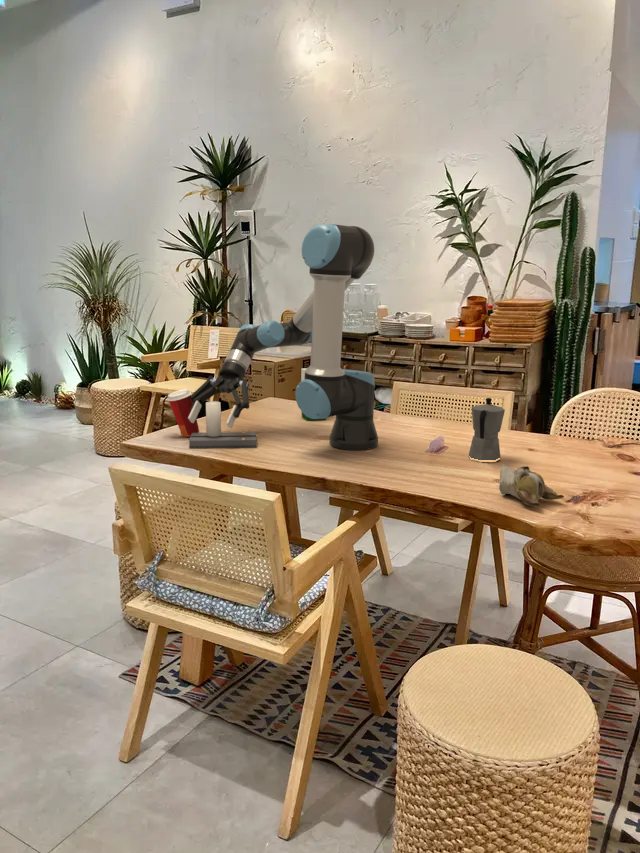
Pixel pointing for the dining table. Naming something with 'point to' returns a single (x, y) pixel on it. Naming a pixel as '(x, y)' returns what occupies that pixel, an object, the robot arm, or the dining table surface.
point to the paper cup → (183, 411)
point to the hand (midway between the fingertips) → (209, 423)
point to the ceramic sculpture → (525, 485)
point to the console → (224, 440)
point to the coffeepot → (486, 431)
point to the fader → (213, 418)
